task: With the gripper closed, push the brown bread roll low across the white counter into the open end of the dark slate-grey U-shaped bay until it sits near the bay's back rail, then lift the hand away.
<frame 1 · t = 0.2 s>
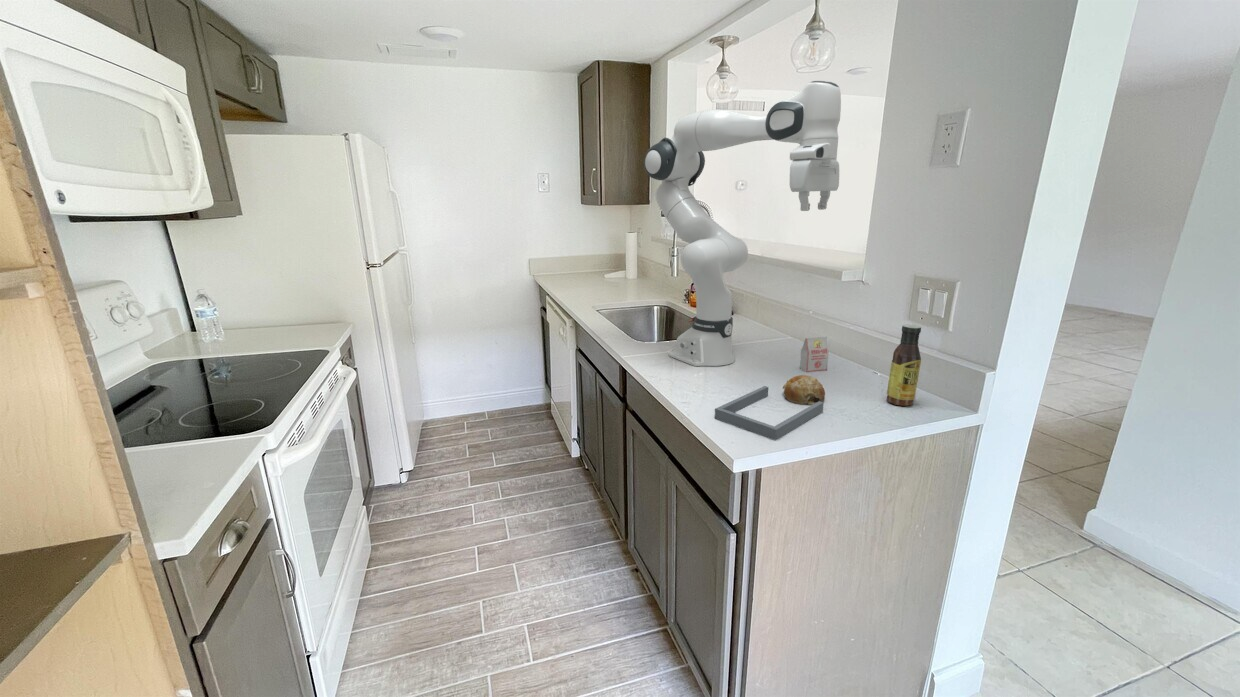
hand: (813, 210, 130), 47 cm above the worktop, tool pointing down, fingers open, 8 cm apart
ivan chai tea box: (813, 370, 154), on the worktop
slate bay: (770, 414, 124), on the worktop
bread roll: (801, 399, 133), on the worktop
sauce bottle: (899, 403, 129), on the worktop
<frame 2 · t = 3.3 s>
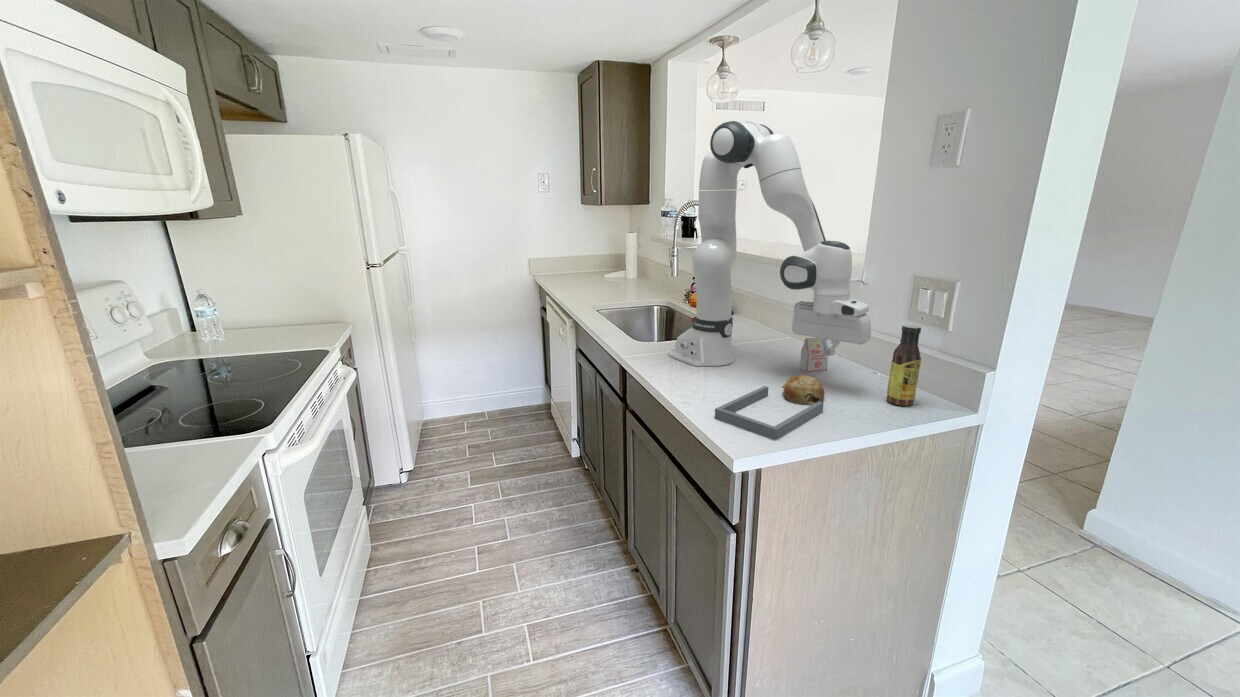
hand: (828, 354, 137), 9 cm above the worktop, tool pointing down, fingers closed
nothing on the worktop moved.
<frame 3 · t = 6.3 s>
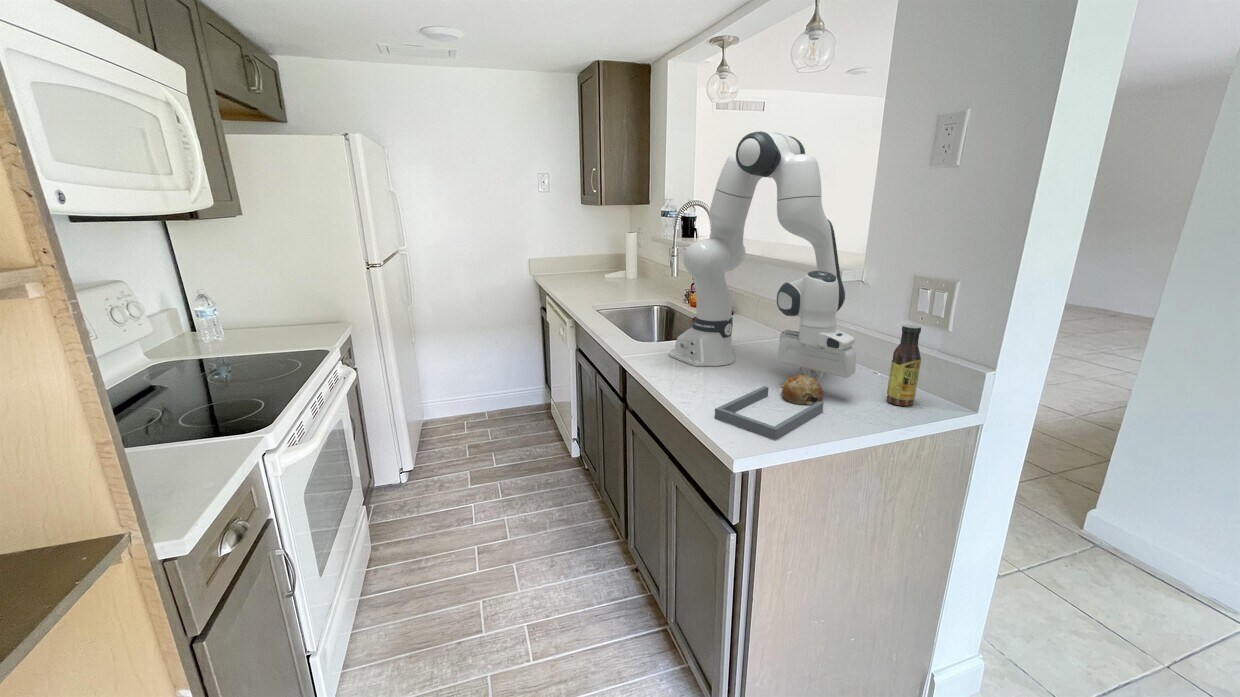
hand: (812, 385, 136), 2 cm above the worktop, tool pointing down, fingers closed
bread roll: (799, 398, 133), on the worktop, touching gripper
everything else where it was.
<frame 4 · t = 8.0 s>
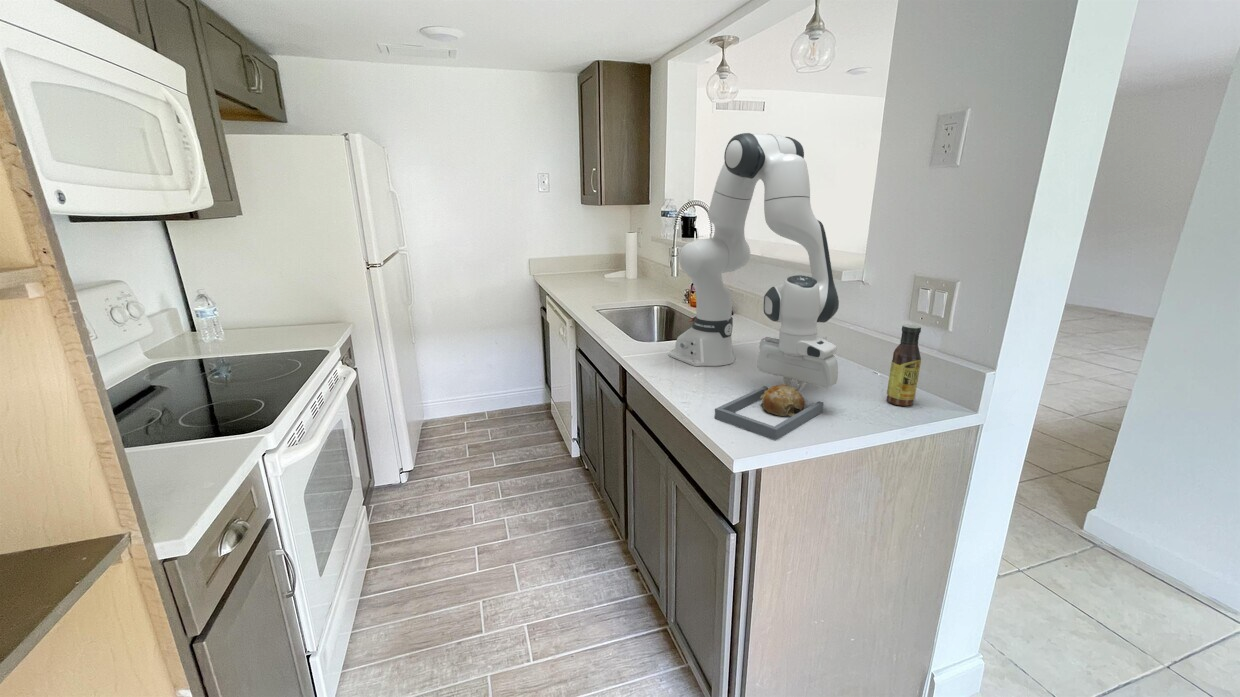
hand: (793, 395, 129), 2 cm above the worktop, tool pointing down, fingers closed, pressing on bread roll
bread roll: (780, 409, 127), on the worktop, touching gripper
everything else where it was.
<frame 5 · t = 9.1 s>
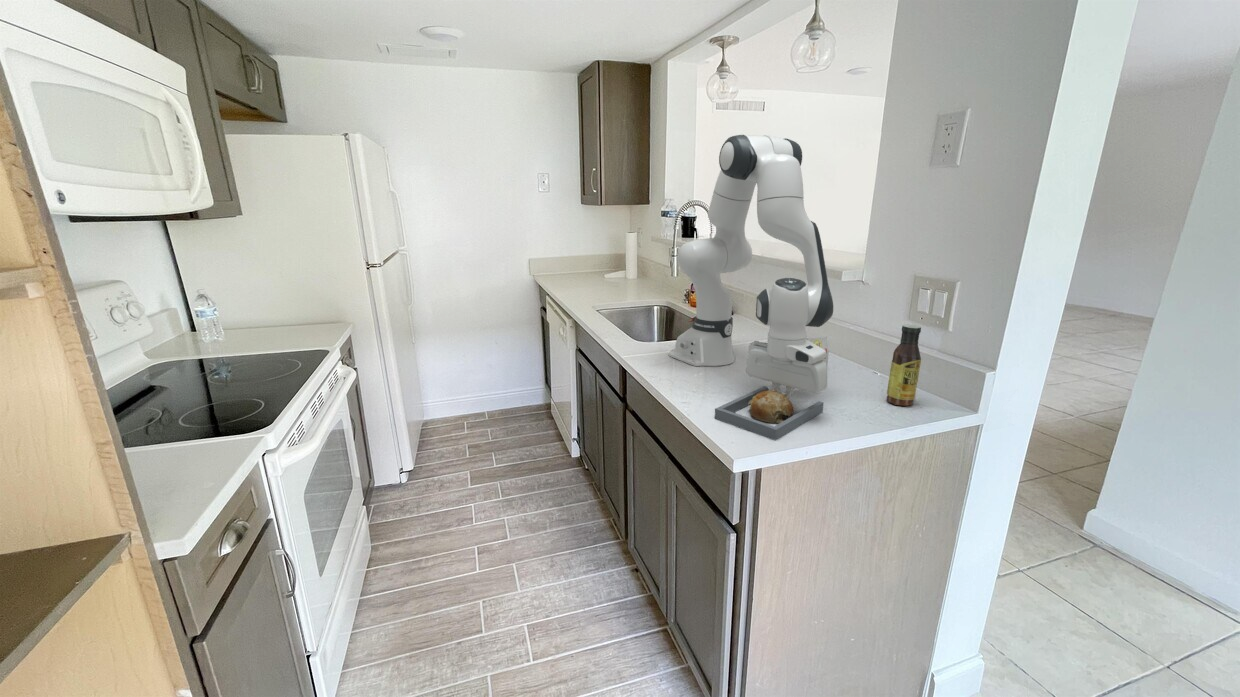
hand: (782, 400, 126), 2 cm above the worktop, tool pointing down, fingers closed
bread roll: (769, 416, 123), on the worktop, touching gripper
everything else where it was.
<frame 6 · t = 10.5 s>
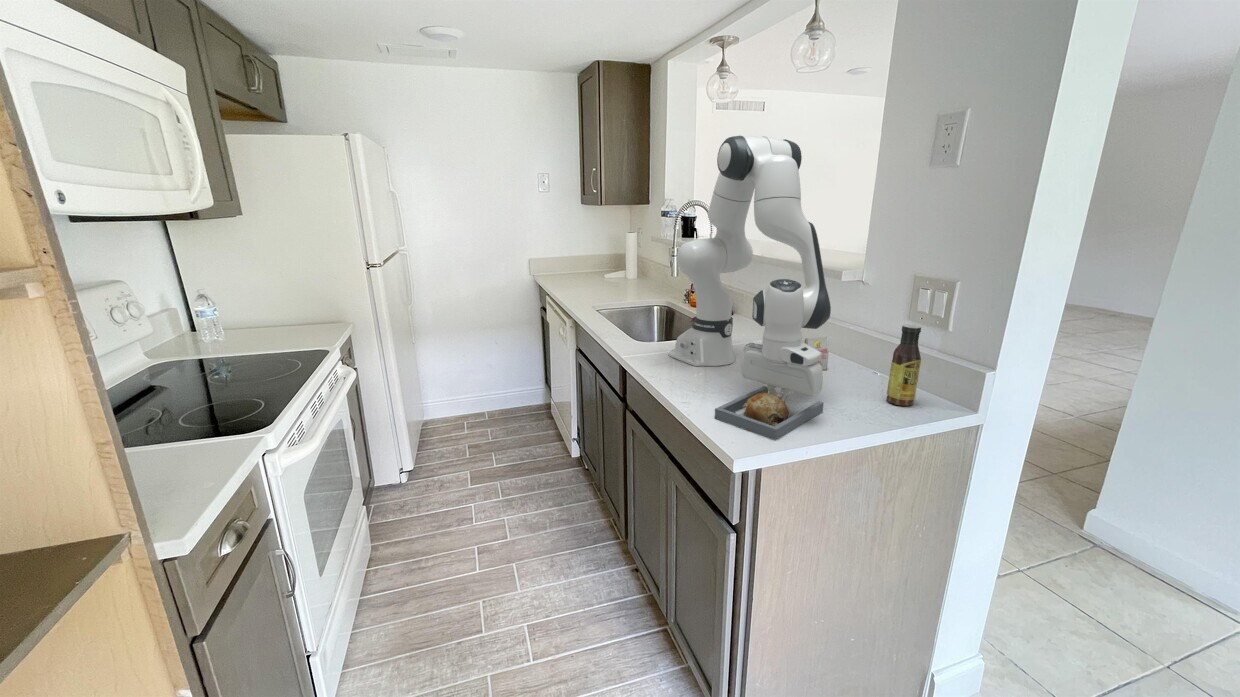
hand: (777, 402, 125), 2 cm above the worktop, tool pointing down, fingers closed
bread roll: (764, 418, 122), on the worktop
everything else where it was.
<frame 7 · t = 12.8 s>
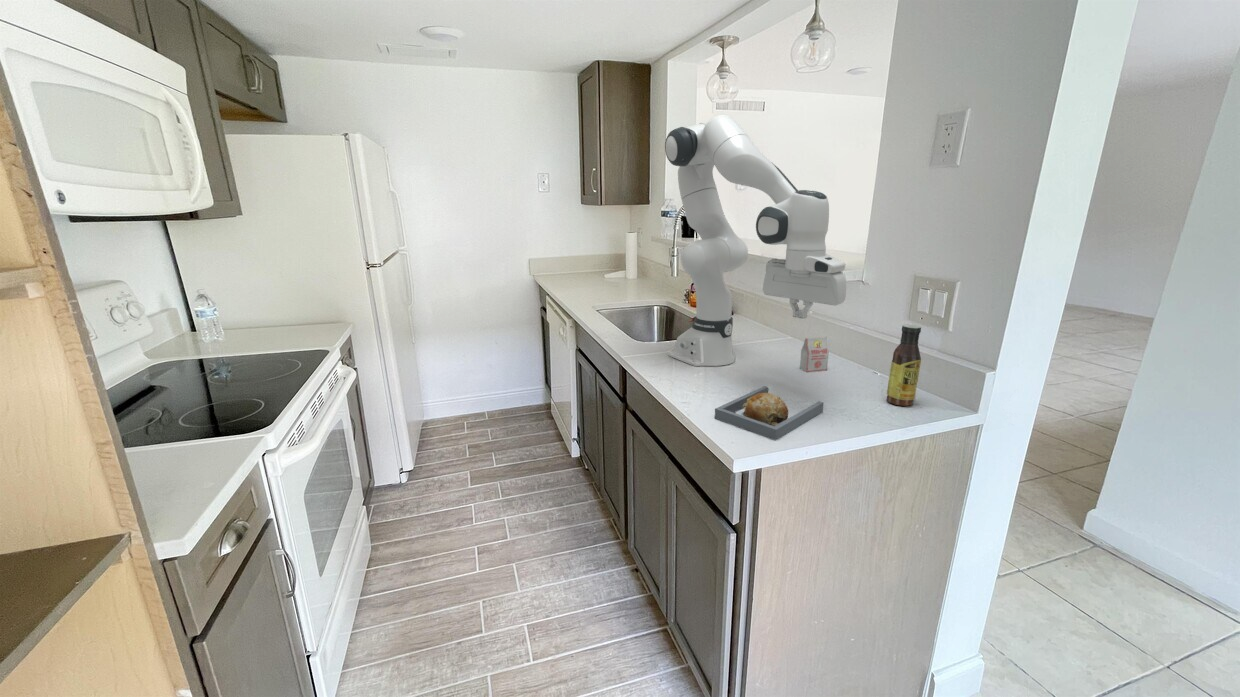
hand: (799, 317, 126), 22 cm above the worktop, tool pointing down, fingers closed
nothing on the worktop moved.
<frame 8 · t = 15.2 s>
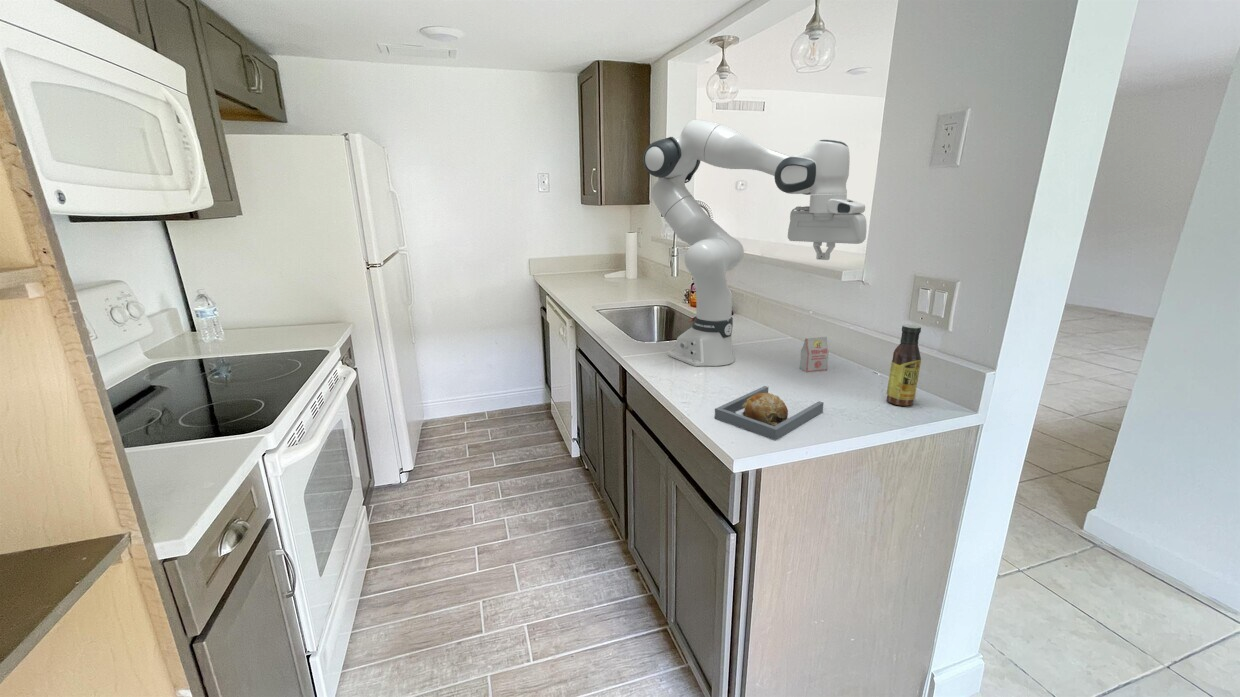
hand: (822, 259, 137), 34 cm above the worktop, tool pointing down, fingers closed
nothing on the worktop moved.
at the end: bread roll inside the target area on the slate bay (0.7 cm from its centre), point 0.0 cm above the slate bay's base; bread roll moved 17.6 cm from its start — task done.
